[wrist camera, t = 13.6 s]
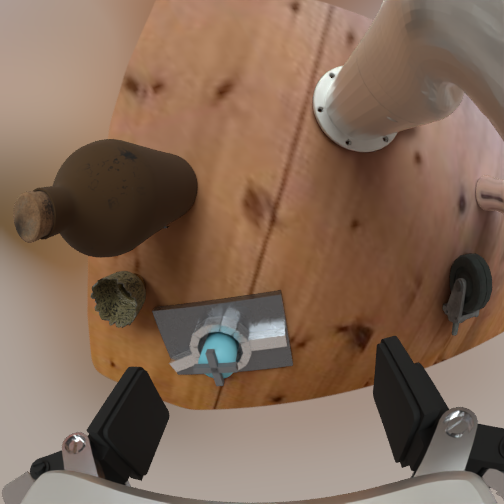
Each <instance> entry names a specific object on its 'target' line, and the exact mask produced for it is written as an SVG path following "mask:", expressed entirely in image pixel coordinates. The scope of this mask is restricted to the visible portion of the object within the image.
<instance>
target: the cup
mask: <svg viewBox="0 0 504 504" xmlns="http://www.w3.org/2000/svg"><path fill="white" fill-rule="evenodd" d="M92 291H93V293H92V294H91V298H92V299H95V302H96V303H97V305H96V306H95V311H99V315H100V317H101V319H102V320H108V321H110V322H109V324H110V325H113V324H114V323H116V327H118V328H119V327H121V326H122V328H123V327H125V326H126V325H128V324H129V325H130V324H131V323H132V322H133V321H134V319H135V317H136V316H137V314H138V313H139V311H140V309H141V308H142V306H143V304H144V301H145V296H146V292H145V283H144V280H143V279H142V277H141V276H139V275H138V274H133V273H131V272H127V271H121V272H116V273H114V274H111V275H109V276H107V277H105V278H102V279H100V280H98V282H97V283H96V284H95V285H94V286H93V287H92Z"/></svg>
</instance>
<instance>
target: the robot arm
mask: <svg viewBox="0 0 504 504" xmlns="http://www.w3.org/2000/svg"><path fill="white" fill-rule="evenodd" d="M329 76H331V77H332V78H330V77H329ZM464 93H466V94H467V95H468V97H469V98H470V99H471V100H472V101H473V102H474V103H475V105H476V106H477V107H478V108H479V109H480V111H481V112H482V113H483V114H484V115H485V116H486V117H487V118H488V119H489V121H490V122H491V123H492V125H493V126H494V128H495V129H496V130H497V132H498V133H499V135H500V136H501V138H502V139H503V141H504V0H384V1H383V3H382V6H381V8H380V10H379V12H378V14H377V16H376V18H375V19H374V21H373V23H372V24H371V26H370V27H369V29H368V30H367V32H366V33H365V35H364V36H363V38H362V39H361V41H360V42H359V44H358V45H357V47H356V48H355V49H354V51H353V52H352V54H351V55H350V57H349V58H348V60H347V61H346V63H345V64H344V66H339V67H337V68H334V69H332V70H330V71H328V72H327V73H326V74H324V75H323V76H322V77H321V79H320V80H319V82H318V83H317V85H316V87H315V90H314V94H313V110H314V115H315V117H316V120H317V122H318V124H319V126H320V127H321V129H322V130H323V132H324V133H325V134H326V135H327V136H328V137H329V138H330V139H331V140H332V141H334V142H335V143H336V144H338V145H340V146H341V147H343V148H346V149H348V150H351V151H356V152H372V151H376V150H379V149H382V148H383V147H385V146H387V145H388V144H389V143H390V142H391V141H392V140H393V139H394V138H395V136H396V135H397V133H398V132H399V131H403V130H406V129H410V128H413V127H417V126H421V125H425V124H428V123H432V122H435V121H439V120H442V119H444V118H446V117H448V116H449V115H451V114H452V113H453V112H454V111H455V110H456V109H457V108H458V106H459V105H460V103H461V101H462V99H463V96H464ZM319 109H320V110H321V112H318V110H319ZM383 138H384V139H385V141H383ZM346 141H347V142H348V145H347V144H346V143H345V142H346ZM373 396H374V400H375V403H376V406H377V409H378V411H379V414H380V417H381V419H382V423H383V426H384V429H385V431H386V435H387V438H388V441H389V444H390V447H391V450H392V453H393V456H394V459H395V462H396V463H398V462H400V463H401V466H402V468H403V467H406V466H409V465H410V468H411V470H412V471H414V472H413V474H412V476H411V478H409V479H405V480H401V481H398V482H394V483H390V484H386V485H382V486H379V487H375V488H371V489H367V490H363V491H358V492H353V493H348V494H343V495H337V496H332V497H325V498H319V499H311V500H302V501H292V502H291V501H290V502H275V503H233V502H232V503H231V502H216V501H205V500H196V499H189V498H182V497H175V496H169V495H164V494H159V493H154V492H150V491H146V490H141V489H137V488H133V487H131V486H130V484H129V481H128V478H129V476H130V477H131V478H133V479H138V480H141V481H142V478H143V476H144V475H146V474H147V472H148V470H149V467H150V464H151V462H152V460H153V457H154V455H155V452H156V449H157V447H158V445H159V442H160V439H161V437H162V435H163V432H164V430H165V427H166V425H167V422H168V420H169V411H168V409H167V408H166V406H165V404H164V402H163V401H162V399H161V397H160V395H159V393H158V392H157V390H156V388H155V386H154V384H153V382H152V380H151V378H150V376H149V374H148V373H147V371H146V370H144V369H143V368H142V367H129V368H128V369H127V370H126V371H125V373H124V374H123V376H122V377H121V379H120V380H119V382H118V383H117V385H116V386H115V388H114V389H113V391H112V392H111V394H110V395H109V397H108V398H107V400H106V401H105V403H104V404H103V406H102V407H101V409H100V410H99V412H98V413H97V415H96V416H95V418H94V419H93V421H92V423H91V424H90V426H89V427H88V429H87V432H88V433H89V435H88V436H87V435H85V434H84V433H82V432H76V433H73V434H71V435H69V436H68V437H66V439H65V440H64V441H63V444H62V451H59V452H56V453H54V454H51V455H48V456H45V457H42V458H39V459H37V460H36V461H35V462H34V463H33V464H32V466H31V468H30V473H29V472H28V471H27V472H26V473H24V474H23V475H21V476H20V477H18V478H16V479H15V480H14V481H12V482H10V483H9V484H7V485H6V486H5V487H4V488H3V490H2V496H3V499H4V502H5V504H497V502H496V500H495V498H494V496H493V494H492V492H491V490H490V488H493V489H494V490H496V491H497V493H496V494H497V495H499V496H501V497H502V498H503V499H504V429H503V428H498V427H492V426H487V425H482V424H477V422H478V421H477V417H476V415H475V414H474V413H473V412H472V411H471V410H469V409H467V408H463V407H456V408H452V409H450V410H449V408H448V407H447V405H446V403H445V402H444V400H443V398H442V397H441V395H440V393H439V392H438V390H437V389H436V387H435V385H434V383H433V382H432V380H431V379H430V377H429V375H428V374H427V372H426V371H425V369H424V367H423V366H422V365H421V364H420V363H415V364H414V363H413V361H412V359H411V358H410V356H409V355H408V353H407V351H406V350H405V348H404V347H403V345H402V344H401V342H400V341H399V339H398V338H397V336H392V337H388V338H384V339H382V340H381V343H380V344H377V351H376V366H375V377H374V388H373Z"/></svg>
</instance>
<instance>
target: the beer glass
mask: <svg viewBox="0 0 504 504" xmlns="http://www.w3.org/2000/svg"><path fill="white" fill-rule="evenodd" d="M476 199H477V202H478V204H479V206H480V207H481V208H482V209H483V210H485V211H498V212H500V213H502V214H504V179H497V178H494V177H491V176H489V175H484V176H482V177H481V178H480V179H479V180H478V182H477V186H476Z"/></svg>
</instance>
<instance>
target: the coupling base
mask: <svg viewBox="0 0 504 504" xmlns="http://www.w3.org/2000/svg"><path fill="white" fill-rule="evenodd" d="M152 312H153V315H154V318H155V320H156V323H157V326H158V328H159V331H160V333H161V336H162V338H163V341H164V343H165V346H166V348H167V351H168V353H169V355H170V358H171V361H170V363H169V364H170V365H171V366H172V367H173V368H174V370H175V371H176V372H177V374H178V375H180V374H195V373H194V370H193V366H194V364H198V360H199V357H200V355H201V352H202V349H203V347H204V344H205V341H206V339H207V336H208V334H209V333H211V332H223V333H226V334H229V335H232V336H233V337H234V338H235V339H236V340H237V341H238V342H239V347H238V352H237V357H236V362H237V365H238V372H240V371H251V370H261V369H270V368H278V367H285V366H292V365H293V360H292V353H291V347H290V341H289V335H288V329H287V323H286V317H285V311H284V305H283V300H282V294H281V290H278V291H272V292H265V293H259V294H252V295H245V296H238V297H231V298H224V299H217V300H209V301H202V302H194V303H186V304H177V305H169V306H160V307H155V308H154V310H153V311H152ZM233 373H234V372H233Z"/></svg>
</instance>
